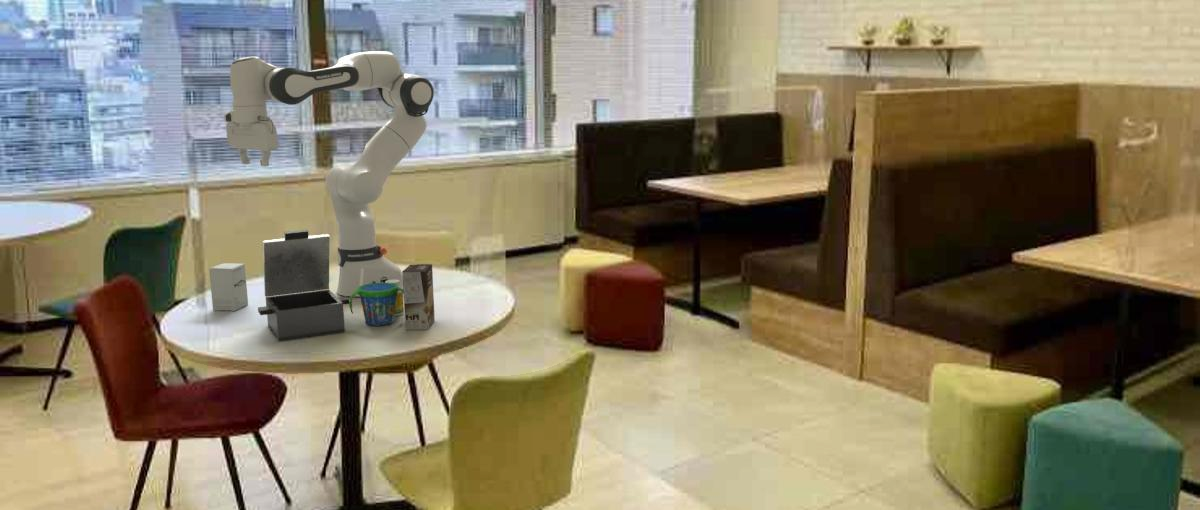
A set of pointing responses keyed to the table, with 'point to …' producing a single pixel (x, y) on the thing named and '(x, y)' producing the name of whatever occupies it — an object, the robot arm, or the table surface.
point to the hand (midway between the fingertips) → (255, 165)
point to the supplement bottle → (398, 298)
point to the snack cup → (377, 302)
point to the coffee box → (418, 296)
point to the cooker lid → (296, 263)
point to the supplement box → (228, 286)
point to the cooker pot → (305, 314)
